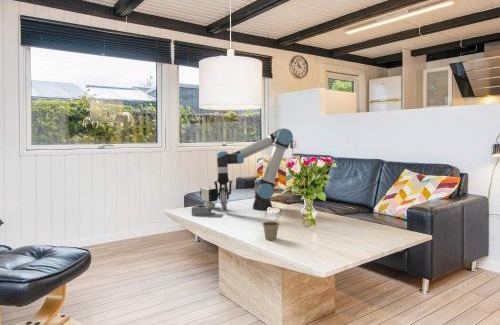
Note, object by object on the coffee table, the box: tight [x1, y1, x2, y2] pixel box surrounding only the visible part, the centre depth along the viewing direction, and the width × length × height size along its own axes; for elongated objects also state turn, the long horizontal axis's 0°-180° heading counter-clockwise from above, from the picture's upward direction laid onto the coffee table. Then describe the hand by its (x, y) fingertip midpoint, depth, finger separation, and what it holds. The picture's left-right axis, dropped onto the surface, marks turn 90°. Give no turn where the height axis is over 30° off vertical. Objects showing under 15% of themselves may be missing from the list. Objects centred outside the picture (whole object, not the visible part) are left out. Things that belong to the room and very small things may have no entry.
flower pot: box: [262, 221, 280, 241], centre depth 203 cm, size 9×9×9 cm
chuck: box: [191, 204, 212, 217], centre depth 269 cm, size 12×12×6 cm
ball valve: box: [199, 185, 219, 210], centre depth 289 cm, size 18×8×18 cm, turn 37°
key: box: [221, 185, 228, 211], centre depth 269 cm, size 4×10×17 cm, turn 175°
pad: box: [208, 213, 224, 218], centre depth 262 cm, size 9×9×1 cm
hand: (224, 203), depth 269 cm, fingers closed on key, 3 cm apart
